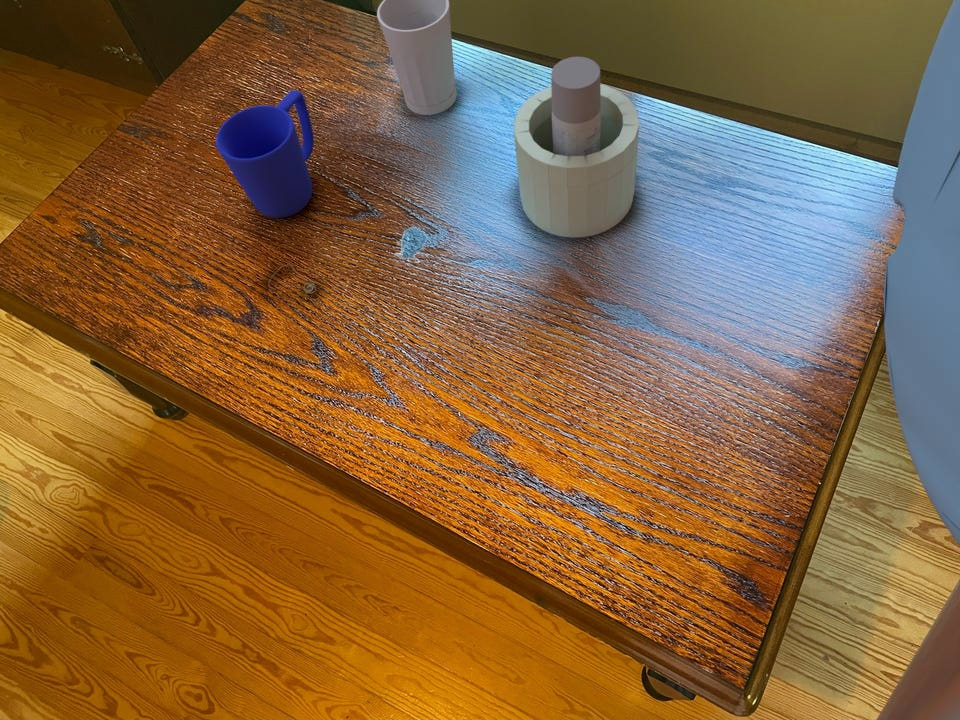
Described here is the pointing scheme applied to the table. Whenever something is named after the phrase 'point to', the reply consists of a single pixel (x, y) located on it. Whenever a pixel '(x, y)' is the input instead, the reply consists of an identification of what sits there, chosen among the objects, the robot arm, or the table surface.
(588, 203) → the round pot
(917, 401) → the robot arm
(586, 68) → the container
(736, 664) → the table surface
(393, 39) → the cup
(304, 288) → the necklace
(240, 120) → the mug
